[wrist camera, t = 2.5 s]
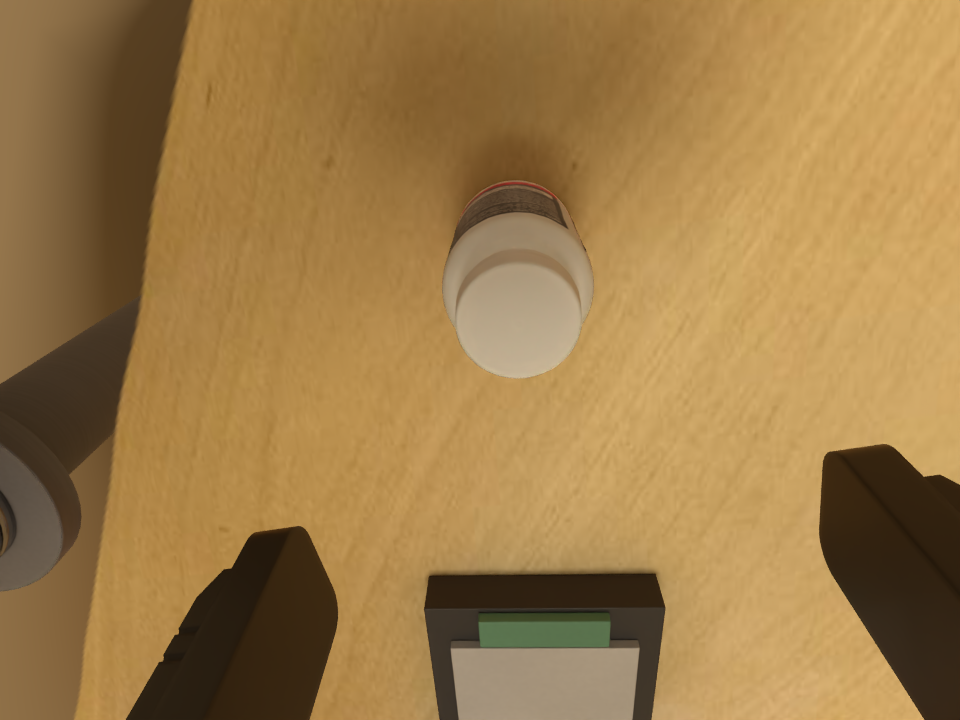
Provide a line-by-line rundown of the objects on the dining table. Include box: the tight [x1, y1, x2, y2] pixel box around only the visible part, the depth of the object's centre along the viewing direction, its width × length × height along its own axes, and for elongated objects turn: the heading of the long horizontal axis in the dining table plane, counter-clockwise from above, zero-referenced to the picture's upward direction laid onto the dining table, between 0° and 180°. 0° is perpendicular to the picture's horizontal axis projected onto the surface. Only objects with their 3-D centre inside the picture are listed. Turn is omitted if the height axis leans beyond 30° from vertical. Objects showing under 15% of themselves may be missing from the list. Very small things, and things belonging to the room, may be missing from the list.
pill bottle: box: [442, 180, 594, 378], centre depth 22 cm, size 5×5×10 cm
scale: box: [424, 574, 665, 720], centre depth 38 cm, size 16×14×3 cm
